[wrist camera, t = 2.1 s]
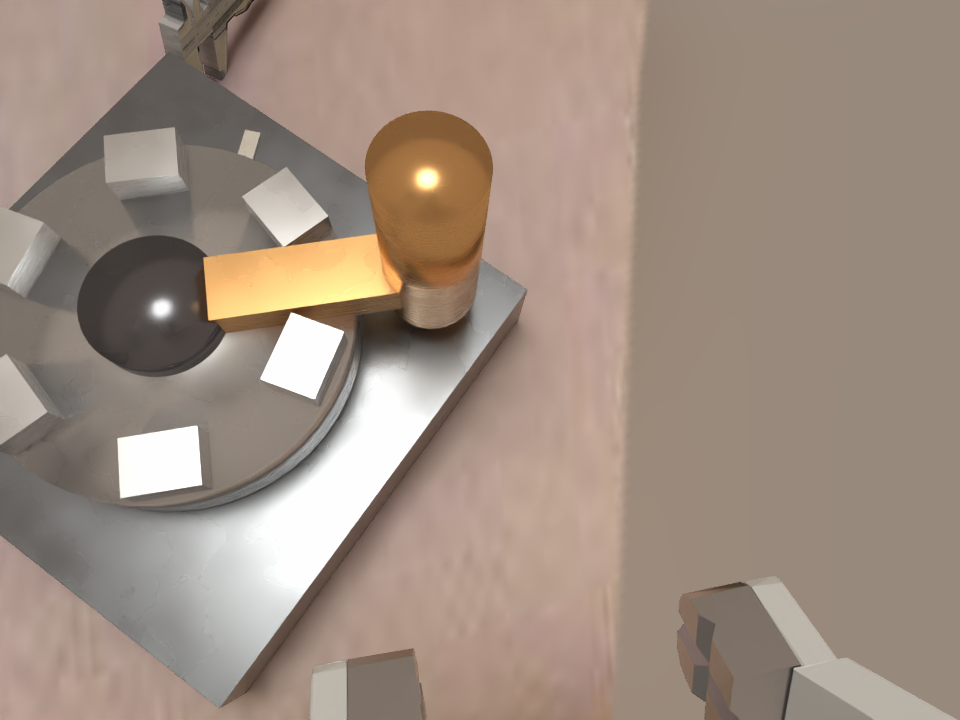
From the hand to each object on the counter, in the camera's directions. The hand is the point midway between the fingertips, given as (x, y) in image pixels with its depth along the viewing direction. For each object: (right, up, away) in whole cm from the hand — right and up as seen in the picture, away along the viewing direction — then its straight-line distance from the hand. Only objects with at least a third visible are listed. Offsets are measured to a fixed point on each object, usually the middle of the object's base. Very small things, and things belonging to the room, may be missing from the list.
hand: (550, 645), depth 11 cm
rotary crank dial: (-11, +6, +19) cm, 22 cm away
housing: (-13, +4, +23) cm, 27 cm away
